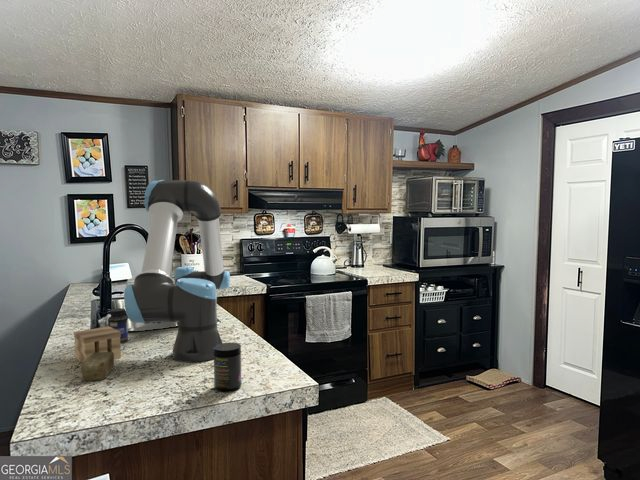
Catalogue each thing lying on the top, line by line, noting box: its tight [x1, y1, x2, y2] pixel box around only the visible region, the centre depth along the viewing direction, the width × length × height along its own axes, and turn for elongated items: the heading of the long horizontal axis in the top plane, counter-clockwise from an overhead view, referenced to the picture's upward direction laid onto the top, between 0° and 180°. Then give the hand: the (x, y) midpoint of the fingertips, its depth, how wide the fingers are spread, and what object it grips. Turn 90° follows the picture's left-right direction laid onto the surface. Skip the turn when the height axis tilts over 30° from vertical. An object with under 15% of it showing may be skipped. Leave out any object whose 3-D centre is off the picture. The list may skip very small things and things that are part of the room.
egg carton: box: [98, 313, 110, 328], centre depth 172 cm, size 11×8×4 cm
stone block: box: [80, 352, 115, 382], centre depth 118 cm, size 6×12×5 cm, turn 13°
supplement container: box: [213, 342, 243, 393], centre depth 108 cm, size 7×7×10 cm
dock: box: [73, 326, 122, 364], centre depth 132 cm, size 10×10×8 cm
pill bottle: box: [108, 307, 129, 344], centre depth 149 cm, size 6×6×11 cm
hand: (121, 321), depth 151 cm, fingers open, 13 cm apart
